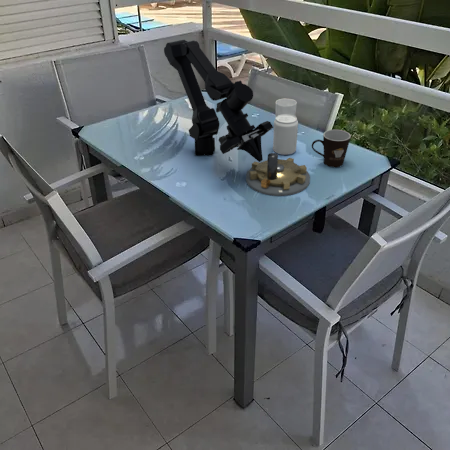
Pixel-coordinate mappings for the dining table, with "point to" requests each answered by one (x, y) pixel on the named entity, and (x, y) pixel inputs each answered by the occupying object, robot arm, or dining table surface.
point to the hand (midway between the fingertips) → (261, 161)
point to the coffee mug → (334, 147)
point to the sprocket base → (275, 190)
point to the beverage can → (285, 134)
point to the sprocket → (278, 172)
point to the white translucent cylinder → (285, 107)
